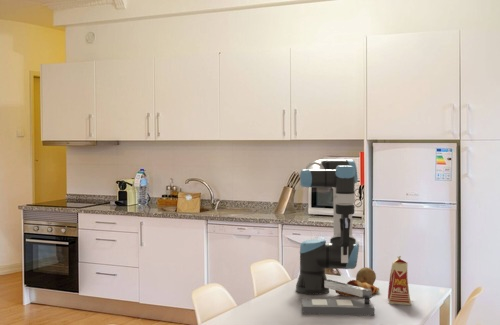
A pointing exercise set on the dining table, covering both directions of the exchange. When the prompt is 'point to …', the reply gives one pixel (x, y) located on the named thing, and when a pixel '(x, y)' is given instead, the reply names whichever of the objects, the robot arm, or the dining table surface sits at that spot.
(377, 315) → the dining table surface
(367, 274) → the natural sponge
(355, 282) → the croissant
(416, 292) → the dining table surface
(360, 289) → the swing arm
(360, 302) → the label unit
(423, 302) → the dining table surface
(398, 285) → the milk carton
